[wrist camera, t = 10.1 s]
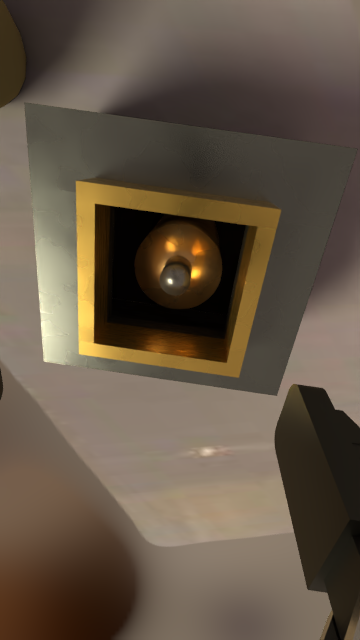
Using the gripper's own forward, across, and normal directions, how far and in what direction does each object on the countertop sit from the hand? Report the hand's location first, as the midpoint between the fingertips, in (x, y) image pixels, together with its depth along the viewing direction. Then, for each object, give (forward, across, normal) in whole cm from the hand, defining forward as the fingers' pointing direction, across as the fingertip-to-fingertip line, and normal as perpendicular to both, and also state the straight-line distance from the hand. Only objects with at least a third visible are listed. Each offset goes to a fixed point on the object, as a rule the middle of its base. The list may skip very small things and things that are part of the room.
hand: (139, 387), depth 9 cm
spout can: (+19, 0, 0) cm, 19 cm away
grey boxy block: (+19, 0, 0) cm, 19 cm away
